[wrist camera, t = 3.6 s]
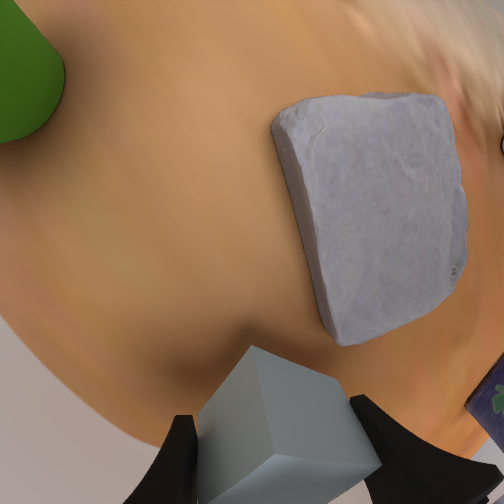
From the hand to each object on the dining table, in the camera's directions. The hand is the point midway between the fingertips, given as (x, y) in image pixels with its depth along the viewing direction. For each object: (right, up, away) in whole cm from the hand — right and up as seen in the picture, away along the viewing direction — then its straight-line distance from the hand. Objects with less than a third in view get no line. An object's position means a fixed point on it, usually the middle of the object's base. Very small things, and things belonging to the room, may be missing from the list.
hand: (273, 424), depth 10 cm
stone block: (+6, +10, +4) cm, 12 cm away
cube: (0, 0, +1) cm, 2 cm away
